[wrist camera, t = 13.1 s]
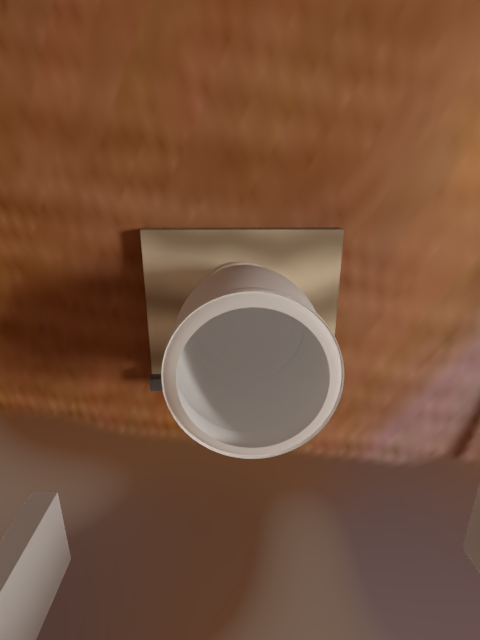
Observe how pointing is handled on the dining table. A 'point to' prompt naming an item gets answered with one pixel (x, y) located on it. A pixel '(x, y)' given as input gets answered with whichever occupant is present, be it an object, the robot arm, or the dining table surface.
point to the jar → (251, 364)
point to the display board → (225, 248)
